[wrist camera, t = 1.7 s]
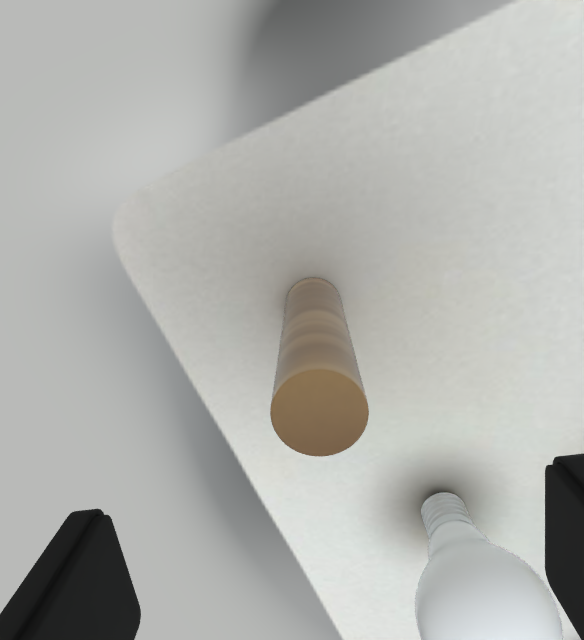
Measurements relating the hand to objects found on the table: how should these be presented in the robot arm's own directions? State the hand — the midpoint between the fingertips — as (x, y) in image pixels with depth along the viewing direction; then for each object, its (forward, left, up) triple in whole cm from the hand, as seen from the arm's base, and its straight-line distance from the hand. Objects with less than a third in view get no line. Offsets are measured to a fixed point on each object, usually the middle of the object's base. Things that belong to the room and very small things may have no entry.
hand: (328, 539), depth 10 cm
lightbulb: (+14, +6, -17) cm, 22 cm away
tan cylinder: (0, 0, -17) cm, 17 cm away
